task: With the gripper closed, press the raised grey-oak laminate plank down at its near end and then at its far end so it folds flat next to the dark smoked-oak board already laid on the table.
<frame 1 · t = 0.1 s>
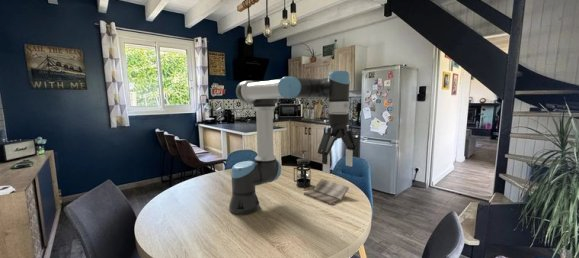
hand: (338, 169, 93), 28 cm above the table, fingers open, 13 cm apart
french press: (302, 185, 158), on the table
plank: (330, 188, 142), point 3 cm above the table, hinge at 35.0°
laid board: (321, 197, 137), on the table
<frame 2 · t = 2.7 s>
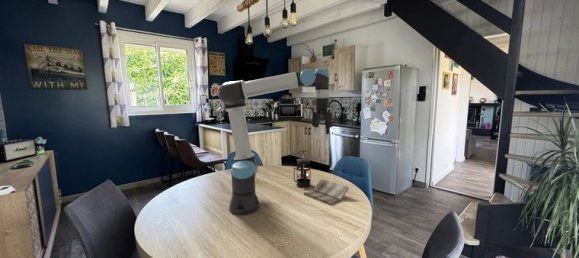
hand: (321, 139, 137), 33 cm above the table, fingers open, 6 cm apart
nothing on the table moved.
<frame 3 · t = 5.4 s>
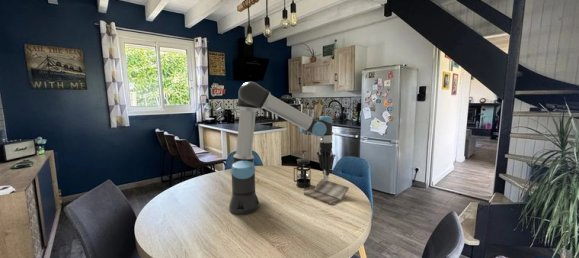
hand: (325, 180, 148), 6 cm above the table, fingers closed
plank: (330, 189, 142), point 3 cm above the table, hinge at 34.3°, touching gripper
everything else where it was.
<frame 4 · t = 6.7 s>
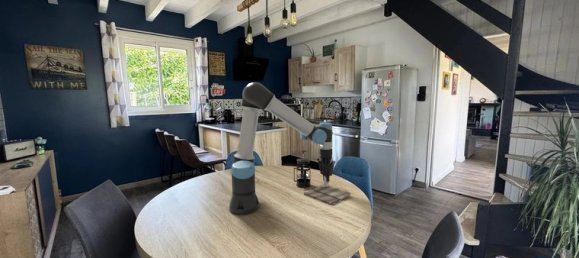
hand: (326, 186, 148), 2 cm above the table, fingers closed
plank: (331, 191, 143), point 1 cm above the table, hinge at 6.9°, touching gripper
everything else where it was.
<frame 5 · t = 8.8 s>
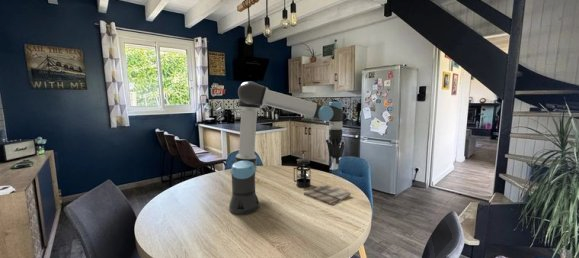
hand: (335, 168, 141), 15 cm above the table, fingers closed
plank: (331, 191, 143), point 1 cm above the table, hinge at 6.0°
everything else where it was.
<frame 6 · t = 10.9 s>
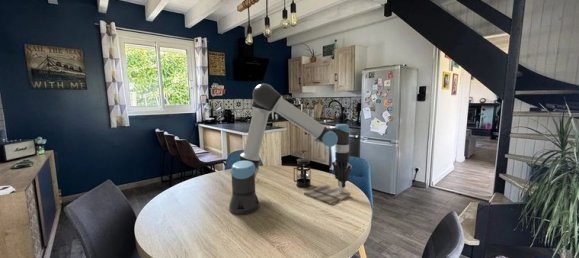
hand: (341, 192, 139), 2 cm above the table, fingers closed
plank: (331, 191, 143), point 1 cm above the table, hinge at 5.5°, touching gripper
everything else where it was.
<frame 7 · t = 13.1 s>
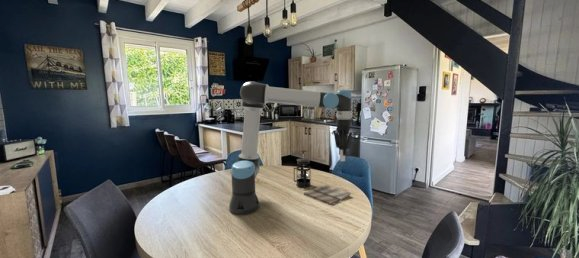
hand: (342, 160, 136), 21 cm above the table, fingers closed
plank: (331, 191, 143), point 1 cm above the table, hinge at 5.4°
everything else where it was.
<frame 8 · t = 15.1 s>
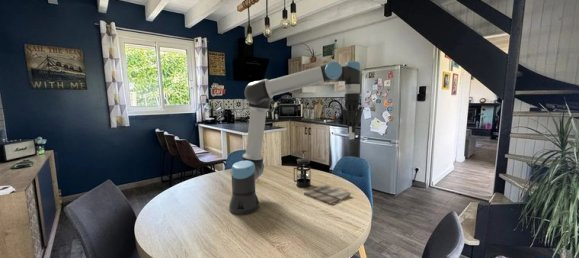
hand: (351, 138, 126), 34 cm above the table, fingers closed
nothing on the table moved.
at the end: plank at +5° (first picture: +35°); plank touching nothing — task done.
